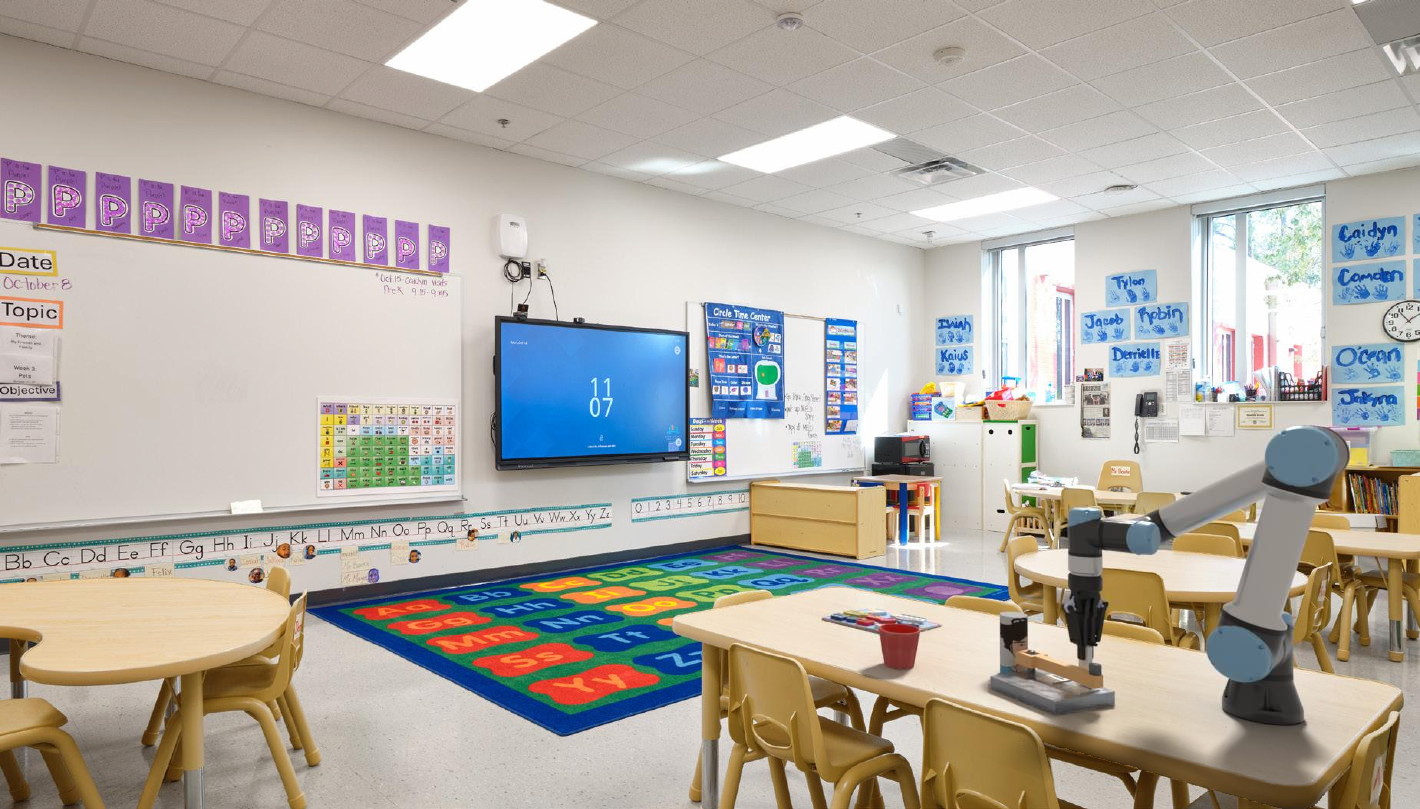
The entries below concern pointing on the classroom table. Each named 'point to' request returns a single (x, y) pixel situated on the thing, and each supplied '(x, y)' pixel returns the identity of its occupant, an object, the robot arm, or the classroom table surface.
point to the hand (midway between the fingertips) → (1085, 672)
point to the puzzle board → (878, 620)
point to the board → (1050, 691)
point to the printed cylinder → (1012, 640)
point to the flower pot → (899, 645)
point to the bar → (1062, 668)
